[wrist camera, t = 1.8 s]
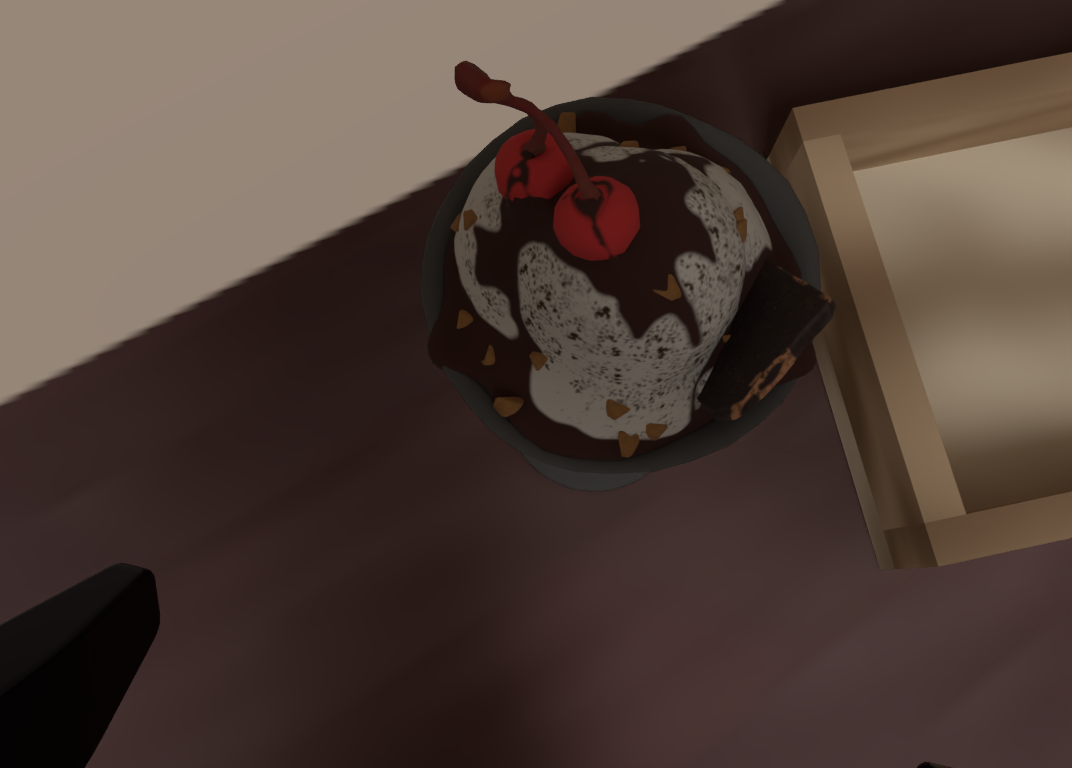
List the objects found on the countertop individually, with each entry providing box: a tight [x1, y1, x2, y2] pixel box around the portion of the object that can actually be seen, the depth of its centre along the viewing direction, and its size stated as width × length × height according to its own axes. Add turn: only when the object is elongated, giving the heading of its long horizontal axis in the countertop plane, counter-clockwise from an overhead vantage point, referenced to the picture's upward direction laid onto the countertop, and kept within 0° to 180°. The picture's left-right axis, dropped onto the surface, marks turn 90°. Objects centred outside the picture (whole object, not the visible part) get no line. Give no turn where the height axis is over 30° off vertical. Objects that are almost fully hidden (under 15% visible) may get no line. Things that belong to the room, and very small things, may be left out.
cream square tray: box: [767, 52, 1072, 570], centre depth 22 cm, size 12×12×4 cm
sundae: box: [421, 61, 836, 491], centre depth 16 cm, size 7×7×15 cm
